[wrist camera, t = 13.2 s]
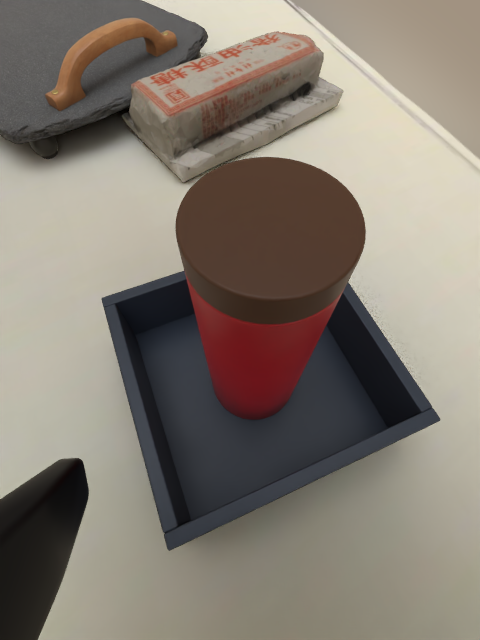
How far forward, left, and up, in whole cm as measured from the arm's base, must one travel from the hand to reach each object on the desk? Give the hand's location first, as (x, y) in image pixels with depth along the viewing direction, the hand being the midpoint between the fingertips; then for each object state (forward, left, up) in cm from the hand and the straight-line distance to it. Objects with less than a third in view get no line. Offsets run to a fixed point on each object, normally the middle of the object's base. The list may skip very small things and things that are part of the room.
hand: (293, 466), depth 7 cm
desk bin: (+5, -2, -11) cm, 13 cm away
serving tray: (+49, +6, -12) cm, 50 cm away
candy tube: (+5, -2, -11) cm, 12 cm away
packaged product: (+29, -10, -12) cm, 33 cm away
